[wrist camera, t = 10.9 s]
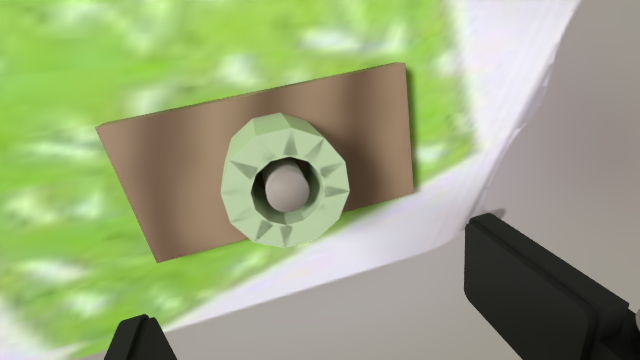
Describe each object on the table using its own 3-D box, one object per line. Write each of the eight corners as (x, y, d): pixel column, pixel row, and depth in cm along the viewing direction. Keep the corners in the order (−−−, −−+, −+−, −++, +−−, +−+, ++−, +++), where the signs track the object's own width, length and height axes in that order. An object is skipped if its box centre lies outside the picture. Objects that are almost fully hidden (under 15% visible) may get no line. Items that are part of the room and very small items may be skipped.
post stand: (395, 62, 24) (447, 65, 18) (405, 186, 27) (450, 222, 22) (104, 123, 21) (50, 150, 15) (161, 251, 25) (137, 313, 19)
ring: (317, 103, 22) (338, 116, 17) (334, 196, 25) (355, 228, 20) (212, 127, 21) (205, 147, 16) (241, 220, 24) (242, 260, 19)
